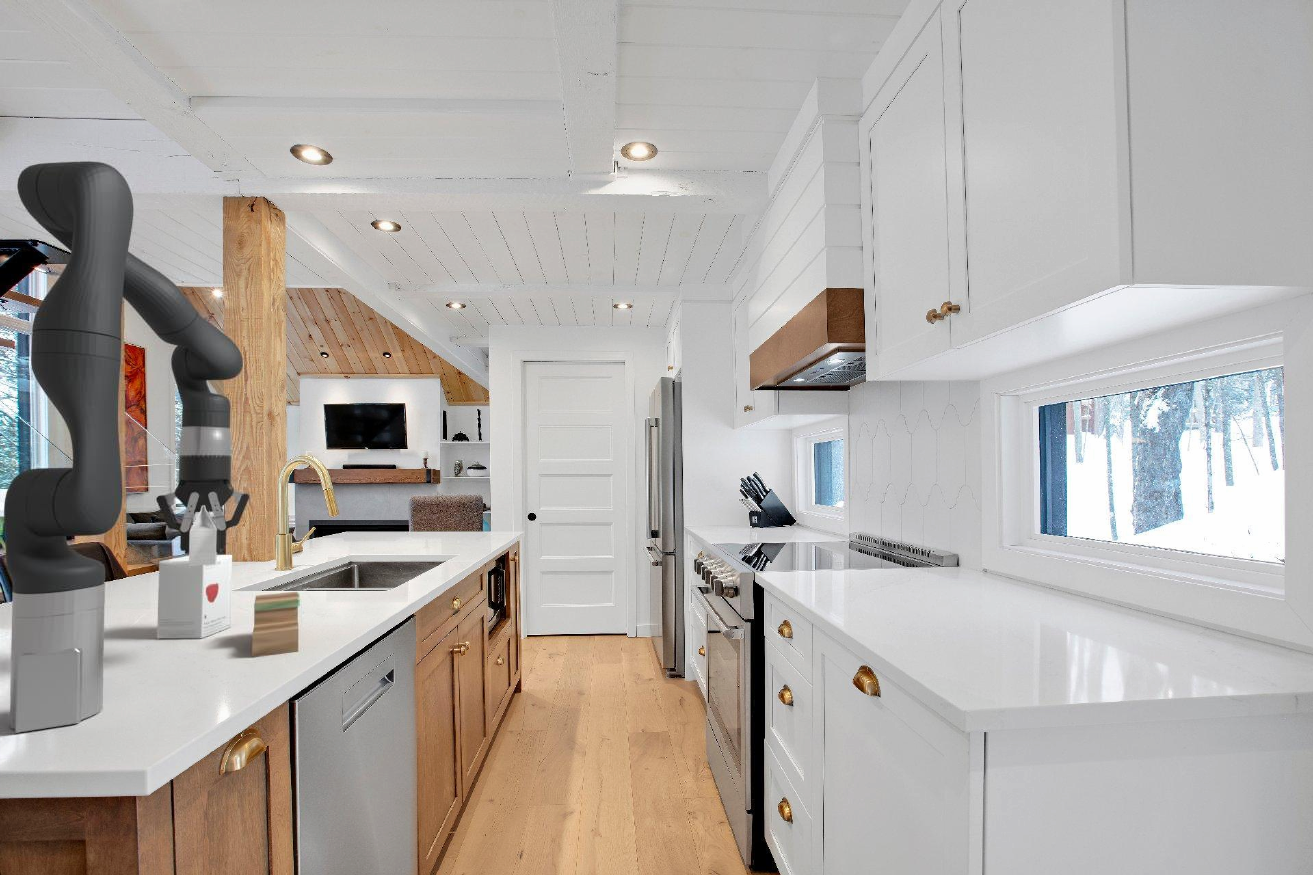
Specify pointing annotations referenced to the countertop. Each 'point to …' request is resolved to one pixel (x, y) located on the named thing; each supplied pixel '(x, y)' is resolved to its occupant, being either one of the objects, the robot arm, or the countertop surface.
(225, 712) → the countertop surface
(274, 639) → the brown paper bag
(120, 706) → the countertop surface
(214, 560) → the white milk carton
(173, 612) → the supplement box
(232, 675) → the countertop surface
